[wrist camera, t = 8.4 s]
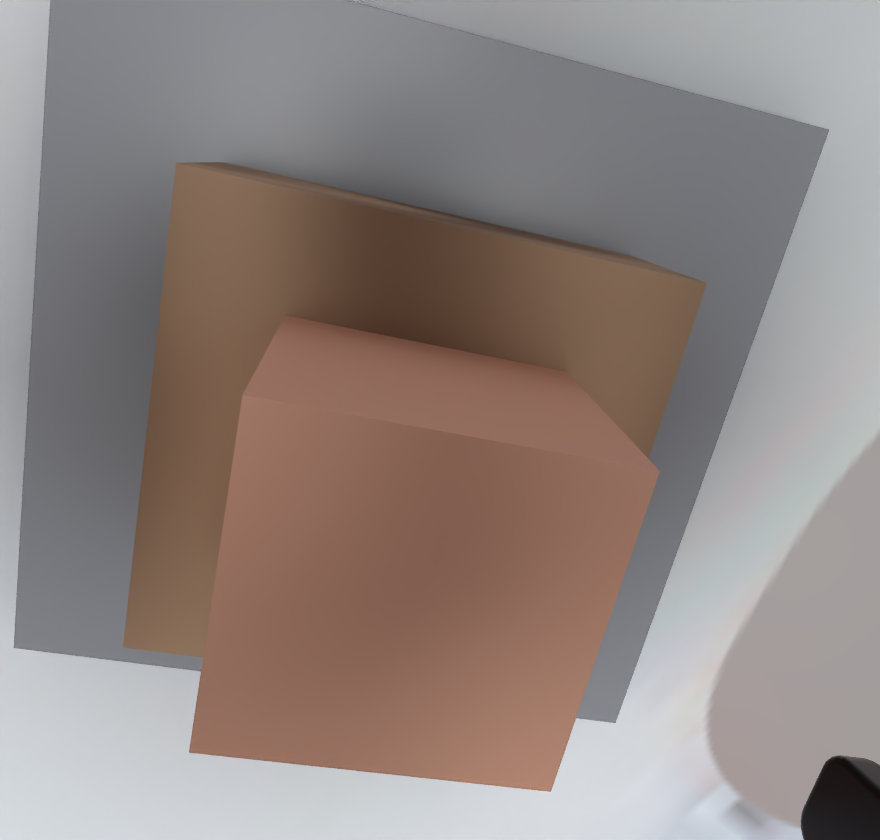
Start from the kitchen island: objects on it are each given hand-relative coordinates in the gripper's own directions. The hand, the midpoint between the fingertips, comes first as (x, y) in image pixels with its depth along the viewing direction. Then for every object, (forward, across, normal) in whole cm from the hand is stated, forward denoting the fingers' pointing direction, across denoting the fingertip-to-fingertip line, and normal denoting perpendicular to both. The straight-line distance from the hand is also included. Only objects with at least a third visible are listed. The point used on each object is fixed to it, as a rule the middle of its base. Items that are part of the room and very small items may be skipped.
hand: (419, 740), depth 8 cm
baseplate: (+12, 0, 0) cm, 12 cm away
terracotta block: (+7, 0, 0) cm, 7 cm away
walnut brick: (+12, 0, 0) cm, 12 cm away
